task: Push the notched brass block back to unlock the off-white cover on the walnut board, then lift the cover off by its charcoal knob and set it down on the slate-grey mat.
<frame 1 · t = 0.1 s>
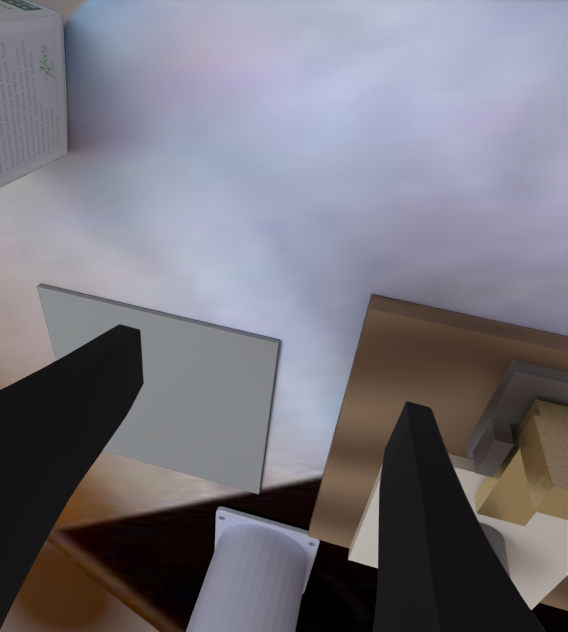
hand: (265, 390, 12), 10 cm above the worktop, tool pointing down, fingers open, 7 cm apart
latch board: (488, 471, 26), on the worktop
mat: (162, 398, 29), on the worktop
notched brass block: (537, 500, 20), point 5 cm above the worktop, slide at 0.0 cm
cover: (466, 527, 28), point 1 cm above the worktop, touching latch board
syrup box: (10, 68, 19), on the worktop
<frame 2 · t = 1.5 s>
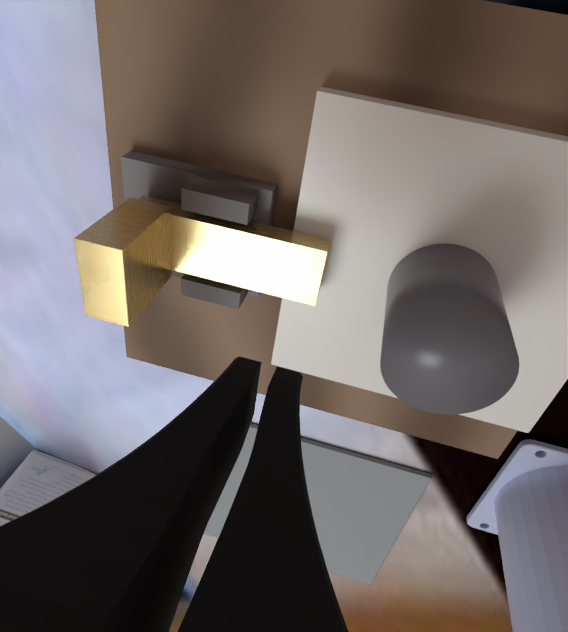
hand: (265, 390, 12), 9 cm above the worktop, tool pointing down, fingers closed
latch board: (344, 243, 20), on the worktop
mat: (295, 504, 32), on the worktop
notched brass block: (213, 272, 16), point 5 cm above the worktop, slide at 0.0 cm
cover: (439, 280, 18), point 1 cm above the worktop, touching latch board
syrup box: (68, 478, 37), on the worktop
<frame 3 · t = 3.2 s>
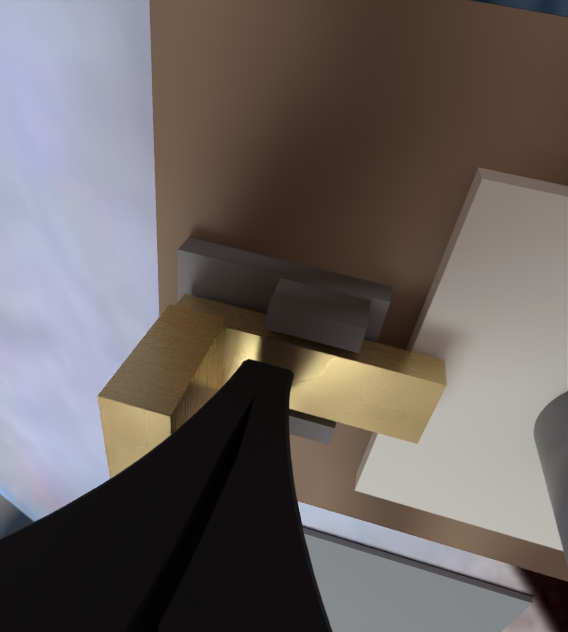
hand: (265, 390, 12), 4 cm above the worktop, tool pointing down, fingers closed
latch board: (464, 350, 15), on the worktop
mat: (353, 610, 27), on the worktop
notched brass block: (286, 413, 12), point 5 cm above the worktop, slide at 0.7 cm, touching gripper
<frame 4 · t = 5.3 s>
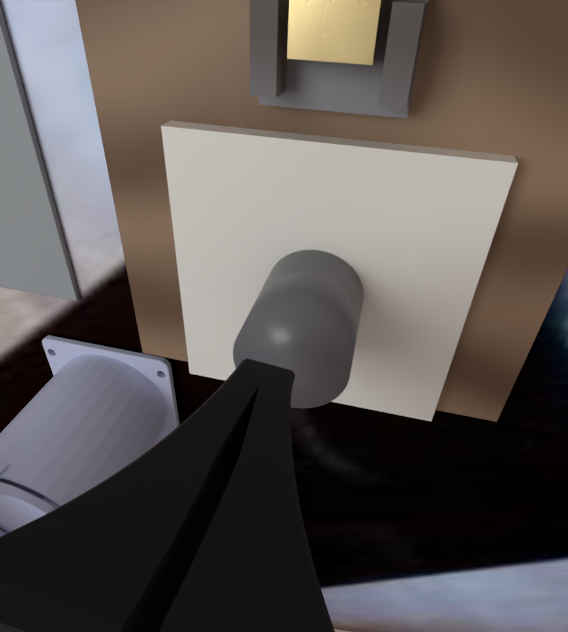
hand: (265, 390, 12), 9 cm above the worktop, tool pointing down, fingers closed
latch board: (331, 181, 18), on the worktop
cover: (317, 283, 20), point 1 cm above the worktop, touching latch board
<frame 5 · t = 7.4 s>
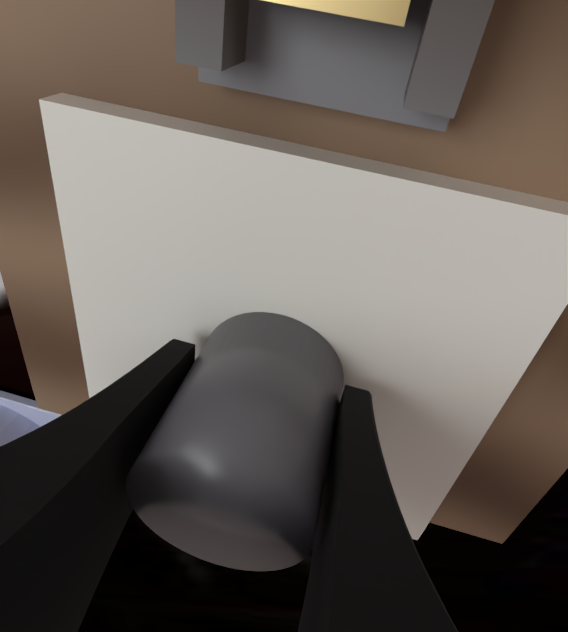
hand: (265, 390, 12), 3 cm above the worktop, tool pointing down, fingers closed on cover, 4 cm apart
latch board: (310, 211, 12), on the worktop
cover: (279, 353, 14), point 1 cm above the worktop, touching gripper, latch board
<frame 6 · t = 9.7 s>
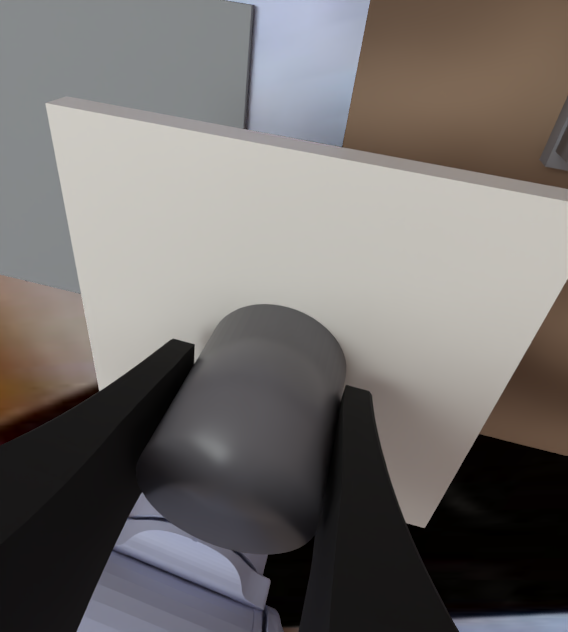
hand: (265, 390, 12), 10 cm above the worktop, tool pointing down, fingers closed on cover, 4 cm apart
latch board: (561, 240, 18), on the worktop
mat: (91, 167, 21), on the worktop
cover: (283, 345, 14), point 8 cm above the worktop, touching gripper
when the fingers open (3 cm above the worktop, at t = 12.0 s): cover stays where it is, resting on mat.
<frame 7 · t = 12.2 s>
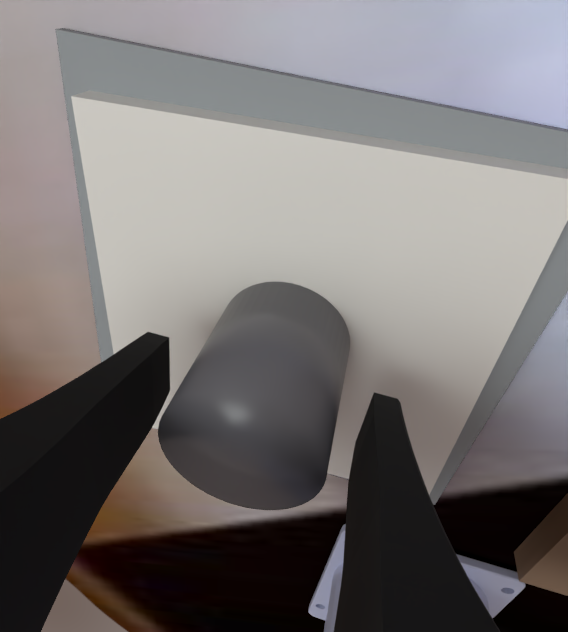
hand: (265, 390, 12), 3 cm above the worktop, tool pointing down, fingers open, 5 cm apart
mat: (292, 318, 15), on the worktop
cover: (290, 322, 15), resting on mat
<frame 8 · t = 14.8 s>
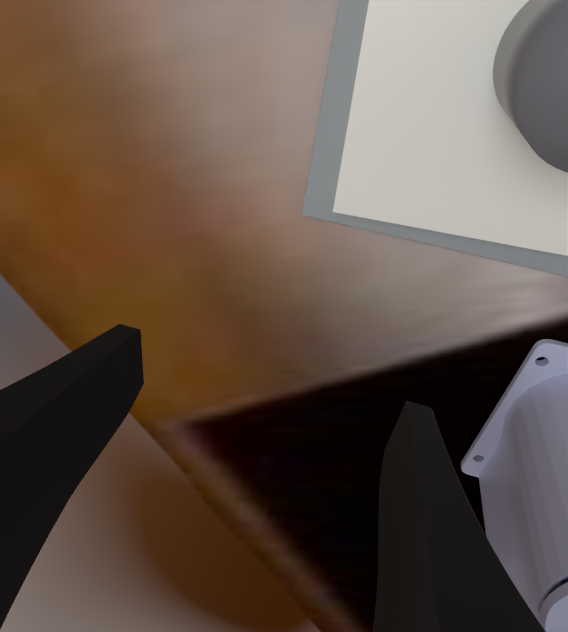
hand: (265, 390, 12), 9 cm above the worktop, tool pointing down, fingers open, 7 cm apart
mat: (558, 54, 14), on the worktop
cover: (560, 54, 14), resting on mat
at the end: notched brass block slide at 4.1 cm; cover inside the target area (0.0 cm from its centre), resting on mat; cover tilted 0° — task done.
